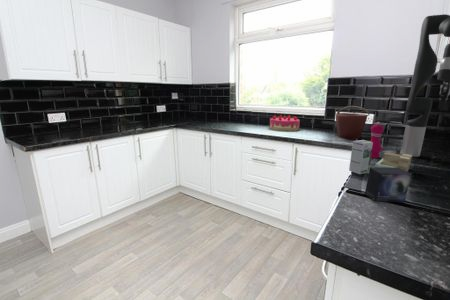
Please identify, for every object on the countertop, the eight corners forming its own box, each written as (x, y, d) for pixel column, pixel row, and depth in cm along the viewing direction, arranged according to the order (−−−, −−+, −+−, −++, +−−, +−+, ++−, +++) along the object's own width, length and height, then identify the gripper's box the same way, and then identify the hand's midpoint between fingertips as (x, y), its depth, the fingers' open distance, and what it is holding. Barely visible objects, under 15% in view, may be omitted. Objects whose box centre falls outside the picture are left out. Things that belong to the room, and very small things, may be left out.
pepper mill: (362, 155, 136) (367, 121, 131) (370, 154, 139) (376, 120, 134) (374, 158, 130) (380, 122, 125) (382, 157, 132) (389, 122, 128)
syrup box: (359, 174, 104) (365, 143, 101) (348, 170, 110) (352, 140, 106) (368, 173, 107) (373, 142, 103) (356, 169, 112) (361, 139, 108)
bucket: (372, 139, 183) (377, 107, 177) (350, 141, 176) (355, 107, 170) (346, 134, 206) (350, 105, 199) (326, 135, 198) (330, 105, 192)
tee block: (384, 164, 120) (387, 151, 118) (409, 169, 113) (412, 155, 111) (380, 168, 113) (382, 154, 111) (405, 174, 106) (409, 159, 104)
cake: (266, 126, 241) (266, 114, 238) (291, 126, 245) (292, 114, 242) (274, 131, 215) (275, 117, 211) (303, 131, 218) (305, 117, 215)
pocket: (382, 162, 123) (383, 157, 122) (400, 165, 118) (401, 161, 117) (374, 169, 112) (375, 164, 112) (393, 173, 107) (394, 167, 107)
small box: (374, 202, 78) (380, 173, 76) (363, 194, 85) (368, 166, 82) (406, 203, 78) (412, 173, 76) (392, 194, 85) (398, 167, 82)
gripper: (440, 70, 110) (431, 107, 114) (438, 67, 101) (429, 108, 105) (462, 69, 105) (452, 108, 109) (462, 66, 95) (452, 109, 100)
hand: (441, 108), depth 107 cm, fingers closed
